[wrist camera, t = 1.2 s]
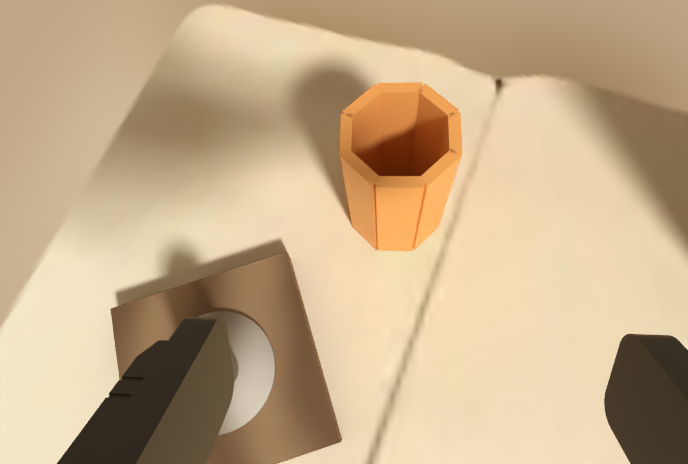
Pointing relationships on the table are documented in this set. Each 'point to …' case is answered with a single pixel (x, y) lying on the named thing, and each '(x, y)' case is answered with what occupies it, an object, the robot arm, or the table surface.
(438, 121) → the collar
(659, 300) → the table surface
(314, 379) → the spindle
